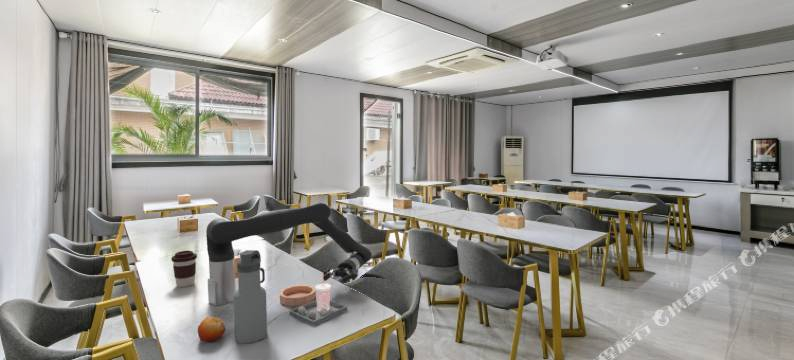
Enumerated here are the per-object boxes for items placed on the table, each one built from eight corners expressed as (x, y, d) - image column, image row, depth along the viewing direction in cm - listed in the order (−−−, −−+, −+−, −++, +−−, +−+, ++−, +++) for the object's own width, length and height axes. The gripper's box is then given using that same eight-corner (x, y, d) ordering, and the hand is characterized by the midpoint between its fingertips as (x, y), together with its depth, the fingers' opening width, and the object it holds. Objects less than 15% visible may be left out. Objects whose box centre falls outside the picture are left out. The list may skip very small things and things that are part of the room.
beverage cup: (311, 311, 137) (311, 274, 136) (320, 304, 143) (320, 270, 142) (325, 313, 135) (325, 276, 134) (334, 307, 141) (333, 271, 140)
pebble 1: (300, 317, 132) (300, 309, 132) (295, 314, 134) (295, 306, 134) (307, 314, 134) (307, 306, 134) (302, 312, 136) (302, 304, 136)
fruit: (198, 329, 120) (210, 309, 120) (220, 340, 121) (232, 320, 121) (186, 342, 112) (199, 320, 112) (209, 354, 113) (222, 332, 113)
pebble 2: (311, 321, 128) (311, 313, 128) (306, 319, 130) (305, 311, 130) (318, 318, 131) (317, 310, 130) (312, 316, 132) (312, 308, 132)
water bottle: (243, 328, 124) (241, 247, 122) (272, 328, 123) (269, 247, 121) (229, 344, 113) (225, 256, 111) (260, 344, 113) (257, 256, 111)
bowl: (293, 309, 139) (293, 300, 139) (273, 299, 148) (272, 292, 148) (322, 297, 150) (322, 290, 150) (301, 289, 159) (301, 282, 158)
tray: (313, 325, 125) (313, 321, 125) (289, 314, 134) (289, 310, 134) (347, 310, 138) (347, 306, 138) (323, 301, 146) (323, 297, 146)
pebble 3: (323, 319, 130) (322, 310, 130) (317, 316, 132) (317, 308, 132) (329, 316, 133) (329, 308, 133) (324, 313, 135) (323, 306, 134)
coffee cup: (167, 287, 163) (166, 254, 162) (187, 279, 172) (186, 248, 171) (183, 290, 159) (181, 256, 158) (202, 282, 168) (201, 250, 167)
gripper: (334, 258, 166) (318, 269, 150) (363, 260, 162) (350, 271, 146) (334, 274, 166) (318, 286, 150) (363, 276, 163) (350, 289, 147)
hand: (334, 279), depth 148 cm, fingers open, 8 cm apart
